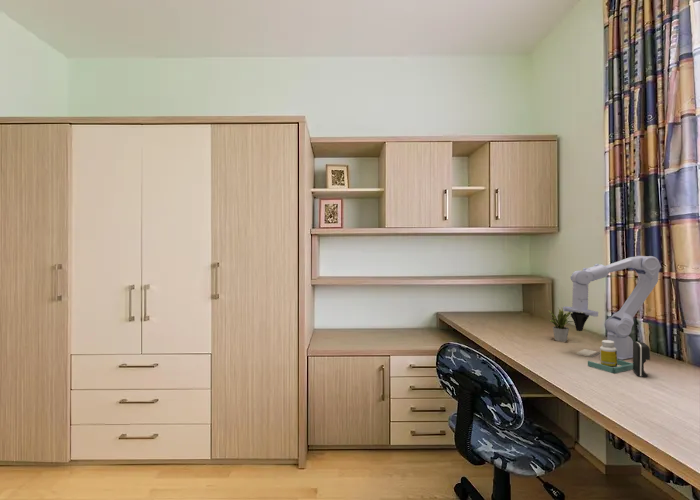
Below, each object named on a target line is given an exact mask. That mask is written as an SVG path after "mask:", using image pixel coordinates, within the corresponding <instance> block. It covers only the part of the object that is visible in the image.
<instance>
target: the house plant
mask: <svg viewBox="0 0 700 500" xmlns="http://www.w3.org/2000/svg"><path fill="white" fill-rule="evenodd" d="M557 308H558V314H557V317H556V316H555V314H554V313H553V312H552V311H551V310H549V309H547V311H548V312H549V313H550V314H551V316H552V317H551V319H550V320H548V321H549V322H551V323H553V325H554V326H552V330H553V337H554V340H555V341H557V342H567V341H568V336H569V331H570V328H569V327H567V325H569V324H571V323H574V321H572V320H569V321H568V319H569V317H570V316H571V314H572V313H573V312H568V311H567V313H564V312H565V311H563V308H561V309H560V308H559V307H557ZM566 324H567V325H566ZM565 325H566V326H565Z"/></svg>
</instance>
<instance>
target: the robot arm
mask: <svg viewBox="0 0 700 500" xmlns="http://www.w3.org/2000/svg"><path fill="white" fill-rule="evenodd" d="M629 268H630V269H632V270H634V271H635V273H636V274H637V275H638V278H639V281H638V282H637V284H636V286H635V287H634V289H633V290H632V291H631V292H630V294H629V296H628V297H627V298H626V299H625V302H624V303H623V305H622V306H621V307H620V309H619V310H618V311H616V312H614V313H613V314H612V315H611V317H608V318H607V319H606V320H605V321H604V328H605V329H606V331H607V334H606V335H607V339H606V340H611V341H614V347H615V348H616V349H617V359H618V360H622V361H624V360H628V359H633V343H634V341H633V339H632V337H631V336H630V335H631V333H632V330H633V329H632V327H633V326H634V324H635V323H634V317H635V315H636V314H637V313H638V311H639V310H640V308H641V307H642V306H643V304H644V303H645V302H646V300H647V298H649V295H650V294H651V293H652V291H653V290H654V288H655V287H656V286H657V284H658V282H659V275H660V274H659V273H660V270H661V269H662V266H661V262H660V261H659V258H657V257H655V256H652V255H649V256H646V255H635V256H629V257H627V258H624V259H621V260H618V261H615V262H612V263H610V264H606V265H604V264H602V263H601V264H599V263H595V264H593V266H590V267H582V270H581V269H580V270H575V271H573V272H572V274H571V276H570V280H571V281H572V303H571V304H572V305H571V306H565V305H564V306H563V307H562V309H563V312H567V313H568V312H571V313H572V314H571V313H570V318H572V320H573V324H574V326H575V330H576V331H577V332H583V330H584V327H585V324H586V322H587V321H588V319H589V318H590V316H591V317H594V318H597V317H599V311H596V310H591V309H589V284H590V283H591V282H594V281H598V280H600V279H604V278H607V277H608V276H609V274H611V273H614V272H617V271H622V270H625V269H629Z"/></svg>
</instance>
